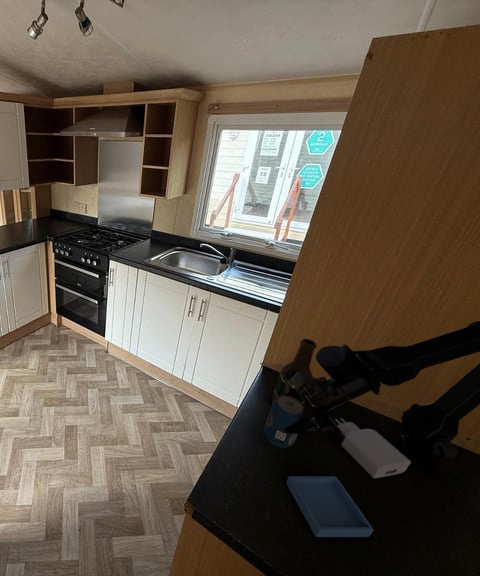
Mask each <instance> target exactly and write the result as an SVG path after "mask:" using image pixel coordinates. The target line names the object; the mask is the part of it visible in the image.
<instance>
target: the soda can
mask: <svg viewBox="0 0 480 576" xmlns="http://www.w3.org/2000/svg"><path fill="white" fill-rule="evenodd" d="M305 416H306V413H305V406H304V404H303V405H302V403H301V402H300V401H298V400H297V399H295V398H293V397H291V396H287V395H282V396H279V397H278V398H277V399H276V400H274V401H273V403H272V404H271V407H270V410H269V413H268V416H267V418H266V422H265V425H264V428H263V431H264V435H265V437H266V438H267V440H268V441H269V442H270V443H271V444H272V445H274V446H275V447H277V448H283V449H284V448H285V449H286V448H289V447H292V446H293V445H294V444H295V442H296V440H297V438H298V435H299V433H286V432H285V431H284V430H285V429H286V428H287V427H289V426H291V425H293V424H295V423H297V422H299V421H301V420H303V419H304V418H305Z"/></svg>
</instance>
